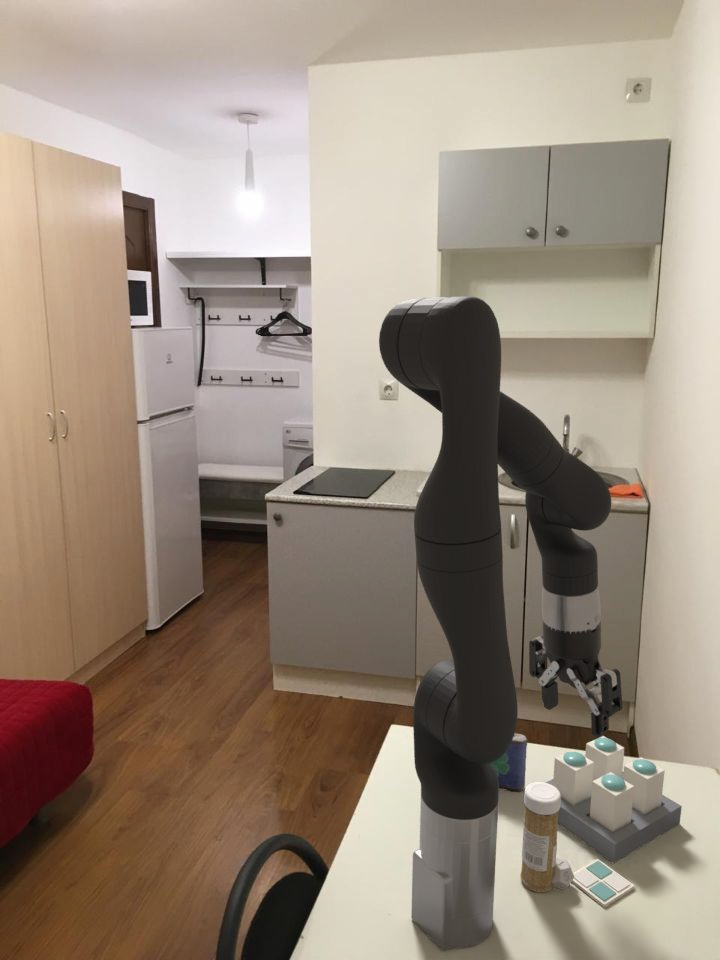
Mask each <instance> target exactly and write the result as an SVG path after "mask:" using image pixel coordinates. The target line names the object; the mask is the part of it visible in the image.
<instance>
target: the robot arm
mask: <svg viewBox="0 0 720 960" xmlns="http://www.w3.org/2000/svg"><path fill="white" fill-rule="evenodd" d="M500 333H501V332H500V327H499V323H498V320H497V317H496V315H495V313H494V311H493V309H492V307H491V306H490V305H489V304H488V303H487V302H486V301H485V300H483V299H481V298H480V297H475V296H468V295H465V296H464V295H463V296H436V297H418V298H413V299H408V300H404V301H401V302H400V303H398V304H396V305H394V306H393V307H392V308H390V310H389V311H388V313H387V314H386V315H385V317H384V318H383V321H382V323H381V326H380V330H379V336H378V344H379V352H380V357H381V359H382V362H383V364H384V366H385V368H386V370H387V371H388V372H389V374H390V375H391V376H392V378H394V379H395V380H396V381H398V382H399V383H400V384H401V385H403V386H404V387H405V388H407V390H409V391H411V392H412V393H414V394H415V395H417V397H420V398H421V399H422V400H424V401H426V403H428V404H429V405H431V406H432V407H433V408H435V409H436V410H437V411H438V412H440V413H441V415H442V418H441V419H442V420H441V422H442V423H441V424H442V425H441V426H442V429H441V430H442V432H441V443H440V449H439V453H438V455H437V458H436V460H435V463H434V466H433V468H432V469H431V472H430V473H429V476H428V478H427V480H426V481H425V484H424V486H423V488H422V490H421V492H420V494H419V496H418V500H417V503H416V505H415V509H414V515H413V529H414V530H413V531H414V532H413V533H414V540H415V554H416V564H417V571H418V575H419V578H420V582H421V585H422V587H423V590H424V593H425V595H426V598H427V600H428V602H429V604H430V606H431V608H432V610H433V613H434V615H435V616H436V618H437V622H439V624H440V627H441V629H442V631H443V633H444V637H445V638H446V640H447V642H448V646H449V648H450V652H451V657H452V659H446V660H445V659H444V660H442V661H439V662H437V663H436V664H434V665H432V666H431V667H430V668H429V669H428V670H427V671H426V672H425V673H424V676H423V677H422V678H421V680H420V682H419V683H418V687H417V690H416V693H415V695H414V696H415V697H414V703H413V711H412V712H413V714H412V715H413V716H412V717H413V718H412V719H413V720H412V723H413V725H412V726H413V727H412V728H413V753H414V768H415V771H416V775H417V778H418V781H419V782H420V815H419V817H420V818H419V820H420V821H419V848H418V849H417V850H416V849H415V851H414V852H413V853H412V873H411V876H412V880H411V881H412V882H411V914H410V915H411V919H412V921H413V922H414V923H415V924H416V925H418V927H419V928H420V929H421V930H422V931H423V932H424V934H426V935H427V937H429V939H430V940H431V941H432V942H433V943H434V944H435V945H436V946H437V947H438V948H439V949H440V950H441V951H445V950H447V949H449V948H463V949H464V948H468V947H473V946H475V945H478V944H480V943H482V942H484V940H485V939H487V938H488V937H489V935H490V933H491V931H492V928H493V921H494V906H495V905H494V901H495V880H496V879H495V878H496V864H497V863H496V860H497V859H496V857H497V838H498V818H499V799H500V788H499V780H498V776H497V774H496V772H495V770H494V768H493V767H492V765H491V764H490V763H492V762H494V761H496V760H498V759H499V758H500V757H502V756H503V754H504V753H505V752H506V751H507V749H508V748H509V746H510V744H511V742H512V739H513V737H514V734H515V733H516V729H517V724H518V713H519V712H518V711H519V710H518V697H517V692H516V691H517V690H516V685H515V683H516V682H515V678H514V672H513V667H512V660H511V654H510V653H511V652H510V647H509V646H510V645H509V641H508V639H509V638H508V630H507V619H506V616H507V615H506V606H505V605H506V604H505V593H504V577H503V574H504V570H503V566H504V564H503V563H504V561H503V559H504V556H503V555H504V554H503V537H502V535H503V534H502V519H501V509H500V508H501V507H500V496H499V495H500V492H499V467H500V468H501V469H502V470H503V471H504V473H506V476H508V477H509V478H510V479H511V481H513V482H514V483H515V484H516V486H518V487H519V488H520V489H522V490H523V491H525V496H524V497H525V498H524V500H525V501H524V502H525V503H524V504H525V511H526V515H527V518H528V522H529V524H530V527H531V531H532V533H533V537H534V539H535V542H536V543H535V544H536V546H537V549H538V551H539V553H540V557H541V577H542V593H541V614H542V615H541V617H542V618H541V619H542V634H541V635H539V636H537V637H535V638H533V639H531V640H529V641H528V643H529V644H528V646H529V647H528V648H529V649H528V651H529V652H528V659H529V660H528V662H529V664H528V665H529V667H528V669H529V670H528V673H529V675H530V676H531V677H532V678H537V679H538V683H539V685H540V686H541V701H542V703H543V707H544V708H545V709H547V710H550V711H551V710H553V709H554V708H555V707H557V706H558V704H559V686H558V685H559V683H558V681H556V680H557V679H559V681H560V682H562V683H565V684H568V685H570V686H571V687H572V688H574V689H576V690H577V691H578V694H579V695H580V697H581V699H582V700H584V701H586V703H587V704H588V706H589V708H590V709H591V713H590V720H591V722H590V723H591V726H590V728H591V736H593V737H595V738H596V739H597V738H600V737H602V736H604V735H605V734H606V733H607V732H608V731H609V729H610V724H609V719H610V718H611V717H612V716H613V715H615V714H616V713H618V712H620V711H622V710H623V694H622V680H621V678H622V677H621V671H619V670H618V669H617V668H613V669H611V670H609V669H606V668H604V667H602V665H601V662H600V661H599V655H600V651H601V648H602V617H601V611H602V609H601V607H602V606H601V597H600V591H599V577H598V576H599V573H598V571H599V569H598V567H599V566H598V563H599V562H598V553H597V549H596V547H595V546H594V545H593V544H592V543H591V542H590V541H588V540H587V539H585V538H583V537H581V536H579V535H578V534H576V533H575V531H573V530H577V531H582V532H583V531H585V532H587V531H592V530H595V529H597V528H599V527H601V526H602V525H603V524H604V523H605V521H606V520H608V518H609V516H610V513H611V509H612V495H611V491H610V489H609V487H608V484H607V483H606V481H605V480H604V479H603V477H602V476H601V475H600V473H598V472H597V471H596V470H595V469H594V468H592V467H590V465H588V464H587V463H585V462H584V461H582V460H581V459H580V458H578V457H577V456H576V455H573V454H572V453H571V452H570V451H568V450H566V449H565V448H564V447H563V446H562V445H561V443H560V442H559V440H558V439H557V438H556V436H555V435H554V434H553V433H552V431H551V430H550V429H549V428H548V426H547V425H546V424H545V422H543V421H542V420H541V419H540V418H539V417H538V416H537V415H536V414H535V413H533V412H532V410H530V409H528V408H527V407H526V406H525V405H523V404H521V403H520V402H518V401H517V400H515V399H513V397H511V396H509V395H507V394H506V393H504V392H502V391H501V377H502V376H501V375H502V374H501V372H502V341H501V340H502V339H501V334H500ZM548 661H549V663H550V664H549V666H548ZM590 684H593V688H591V689H588V688H587V687H588V686H589V685H590ZM596 696H597V698H598V700H599V702H597V699H596V698H595V697H596Z"/></svg>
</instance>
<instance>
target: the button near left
mask: <svg viewBox="0 0 720 960" xmlns="http://www.w3.org/2000/svg"><path fill="white" fill-rule="evenodd" d="M553 767H554V768H553V778H552V779H553V786H554V787H556V788H557V789H558V790H559V792H560V795H561V799H563V800H564V801H566V802H567V803H569V804H570V805H572V806H573V807H574V806H576V805H578V804H580V803H582V802H584V801H586V800H588V799H590V798H591V792H592V781H593V770H594V762H593V761H591V760H590V759H588V758H586V757H585V754H584V755H583V754H582V753H580V752H578V751H576V750H575V749H572V750H569V751H566V752H565V753H562V754H560V755H558V756H556V757H554V765H553Z"/></svg>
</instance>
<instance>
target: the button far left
mask: <svg viewBox="0 0 720 960" xmlns="http://www.w3.org/2000/svg"><path fill="white" fill-rule="evenodd" d="M584 756H585V757H586V758H588V759H590V760H591V761H593V762H594V770H593V781H594V780H596V779H598V778H600V777H602V776H604V775H606V774H608V773H610V772H611V773H613V774H615V775H616V776H619V777H621V778H622V771H624V756H625V747H624V746H622V745H621V744H619V743H617V742H615V741H614V740H612V739H610V738H608V737H606V736H604V735H601V736H600V737H598V738H596V739H593V740H592V741H591V740H590V741H588V742H587V743H586V744H585V754H584Z"/></svg>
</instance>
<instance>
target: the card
mask: <svg viewBox="0 0 720 960" xmlns="http://www.w3.org/2000/svg"><path fill="white" fill-rule="evenodd" d="M573 874H574V879H573V880H572V881H571V883H572V884H573V885H575V886H576V887H578V889H580V890H581V891H583V892H584V893H585V894H586V895H588V897H590V898H591V899H593V900H594V901H595V902H596V903H598V904H599V905H601V906H602V907H603V908H606V907H608V906H609V905H610V904H612V903H614V902H615V901H616V900H618V899H620V898H621V897H623V896H625V895H627V894H628V893H629V892H631V891H632V890H634V889H635V884H633V883H632V882H630V881H629V880H628V879H626V878H625V877H623V876H622V875H621V874H619V873H618V872H616V871H615V870H613V869H612V868H611V867H610V866H608V865H607V864H605V863H604V862H603V861H601V860H600V859H598V858H597V859H595V860H592V861H591V862H590V863H588V864H586V865H584V866H582V867H581V868H579V869H578V870H576V871H574V872H573Z"/></svg>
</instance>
